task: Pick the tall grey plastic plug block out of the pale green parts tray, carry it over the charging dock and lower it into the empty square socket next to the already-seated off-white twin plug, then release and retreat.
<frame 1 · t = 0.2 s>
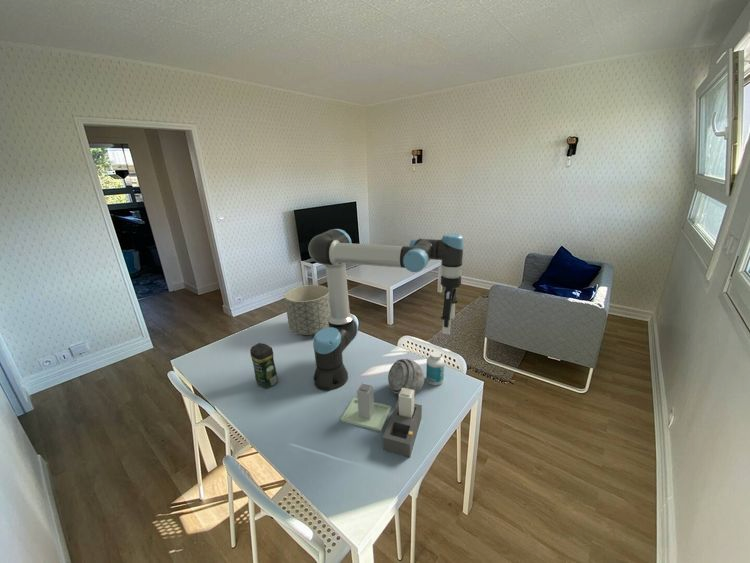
hand: (448, 325, 123), 28 cm above the table, fingers open, 13 cm apart
coffee jar: (267, 382, 138), on the table
decorative orb: (406, 392, 128), on the table
plug: (366, 414, 116), point 1 cm above the table, touching tray
charging dock: (403, 433, 108), on the table
planter: (311, 330, 182), on the table
tray: (366, 415, 116), on the table
pill bottle: (434, 381, 134), on the table
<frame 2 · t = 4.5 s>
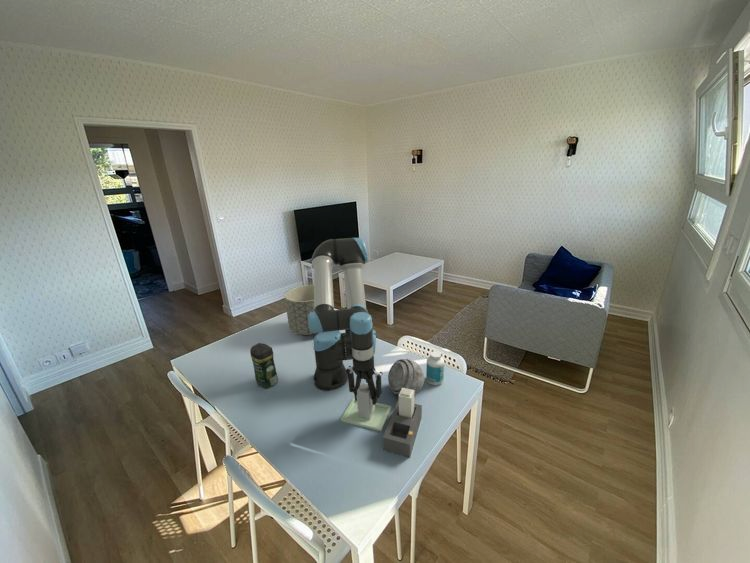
hand: (366, 408, 115), 3 cm above the table, fingers closed on plug, 4 cm apart
plug: (366, 414, 116), point 1 cm above the table, touching gripper, tray
everything else where it was.
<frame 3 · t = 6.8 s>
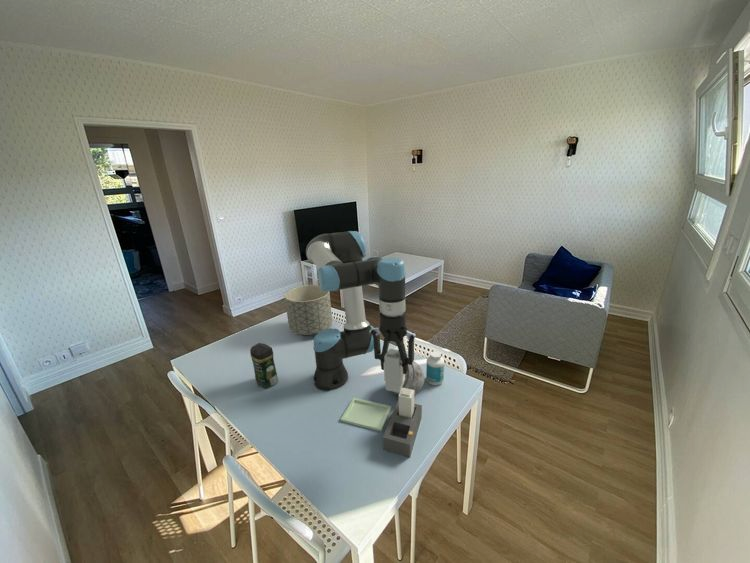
hand: (394, 379, 96), 26 cm above the table, fingers closed on plug, 4 cm apart
plug: (394, 386, 97), point 23 cm above the table, touching gripper
everything else where it was.
when the fingers open (7 cm above the table, at t = 9.4 s): plug drops 2 cm, resting on charging dock.
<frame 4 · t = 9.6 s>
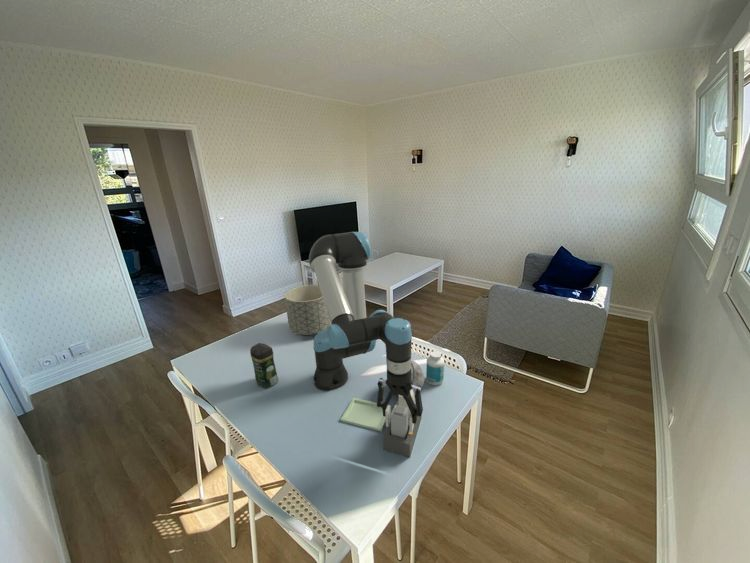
hand: (399, 426, 101), 8 cm above the table, fingers open, 7 cm apart
plug: (399, 439, 103), point 2 cm above the table, touching charging dock
everything else where it was.
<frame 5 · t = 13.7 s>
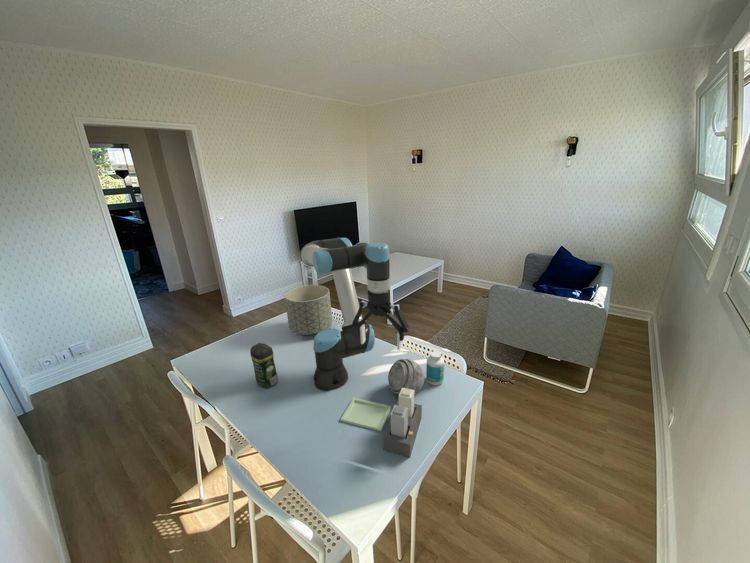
hand: (380, 345, 109), 29 cm above the table, fingers open, 13 cm apart
nothing on the table moved.
at the end: plug 0.1 cm from the target spot on the charging dock, point 2.0 cm above the charging dock's base; plug tilted 0°; the gripper is holding nothing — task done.
